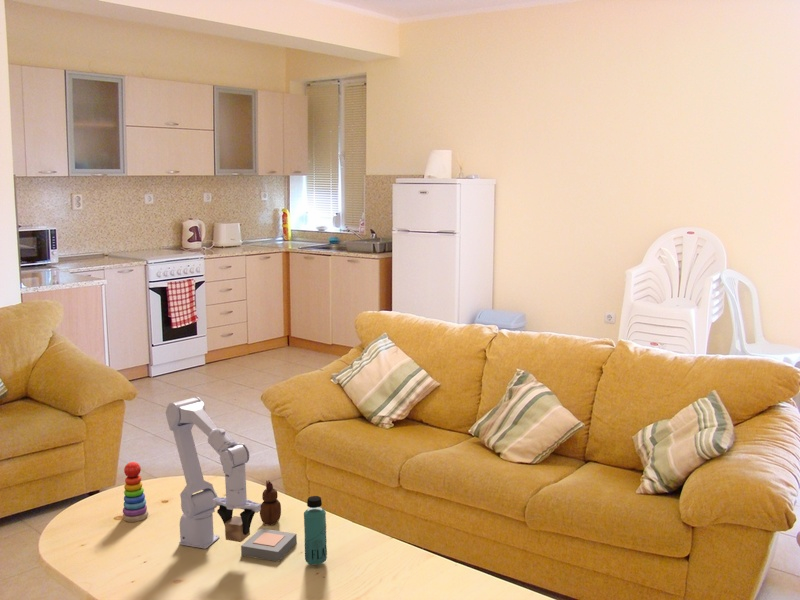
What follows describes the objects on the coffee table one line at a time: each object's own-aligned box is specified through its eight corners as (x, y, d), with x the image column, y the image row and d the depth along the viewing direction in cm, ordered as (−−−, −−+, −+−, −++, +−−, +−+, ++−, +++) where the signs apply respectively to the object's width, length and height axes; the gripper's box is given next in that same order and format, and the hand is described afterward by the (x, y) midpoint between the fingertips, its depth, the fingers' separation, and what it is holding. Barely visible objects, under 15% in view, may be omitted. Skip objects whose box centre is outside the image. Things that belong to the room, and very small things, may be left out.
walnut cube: (225, 539, 218) (224, 523, 217) (234, 532, 223) (234, 515, 222) (240, 542, 216) (240, 525, 216) (250, 534, 221) (249, 518, 220)
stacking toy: (153, 516, 251) (150, 461, 248) (133, 525, 244) (129, 469, 241) (137, 510, 255) (134, 456, 252) (117, 519, 248) (113, 464, 245)
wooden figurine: (269, 529, 241) (267, 483, 238) (256, 524, 244) (255, 479, 242) (284, 521, 246) (283, 477, 244) (272, 516, 250) (270, 473, 247)
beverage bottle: (309, 572, 214) (307, 504, 211) (301, 561, 220) (299, 495, 217) (331, 566, 217) (329, 499, 214) (322, 556, 223) (320, 491, 220)
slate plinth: (241, 555, 224) (240, 545, 223) (261, 537, 235) (260, 527, 235) (278, 561, 220) (277, 551, 220) (296, 543, 231) (296, 533, 231)
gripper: (205, 489, 216) (208, 534, 218) (251, 495, 211) (253, 541, 213) (219, 479, 222) (221, 523, 224) (263, 486, 218) (265, 530, 220)
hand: (237, 532), depth 219 cm, fingers closed on walnut cube, 5 cm apart
